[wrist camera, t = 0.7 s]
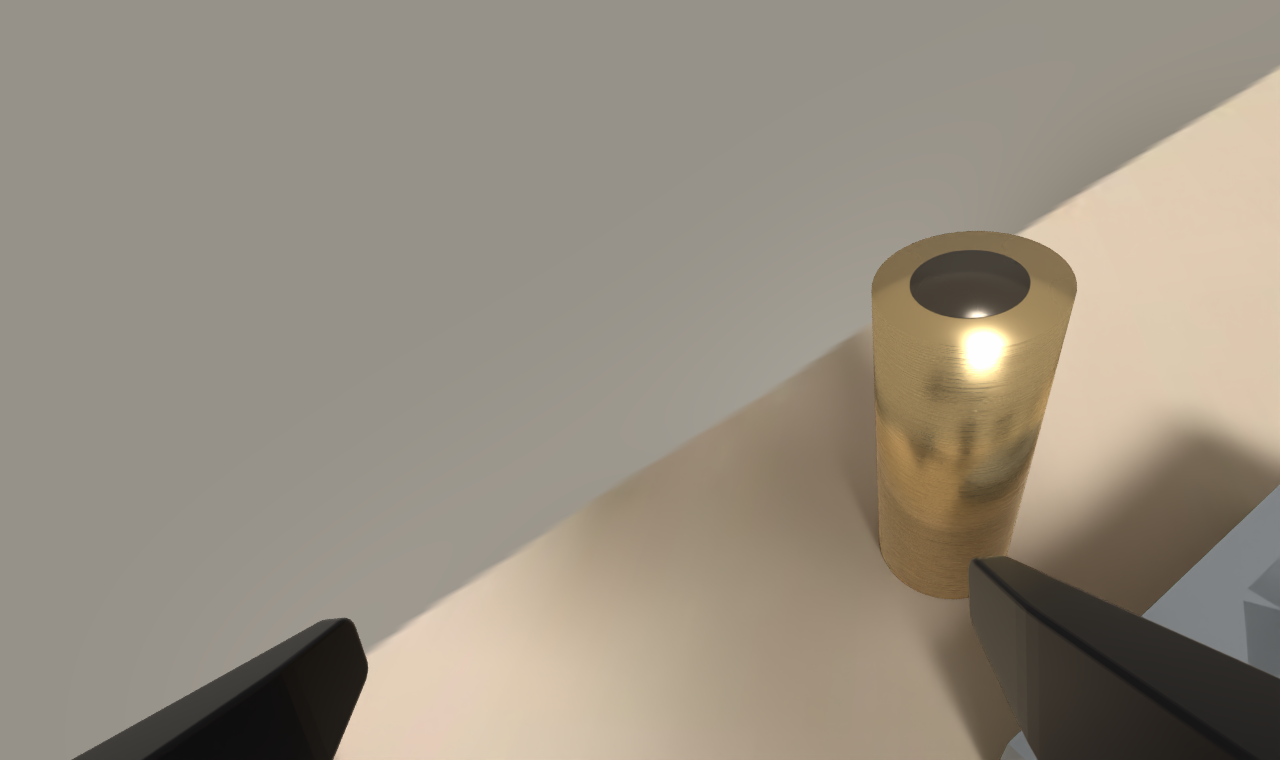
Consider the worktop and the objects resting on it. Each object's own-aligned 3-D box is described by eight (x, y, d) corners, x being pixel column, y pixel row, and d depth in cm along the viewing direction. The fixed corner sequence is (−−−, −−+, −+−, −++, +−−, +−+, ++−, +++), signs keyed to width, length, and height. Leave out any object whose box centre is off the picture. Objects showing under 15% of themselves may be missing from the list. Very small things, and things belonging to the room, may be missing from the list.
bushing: (1032, 550, 22) (1123, 269, 13) (948, 623, 21) (986, 373, 13) (932, 478, 25) (953, 211, 17) (855, 539, 25) (834, 292, 16)
